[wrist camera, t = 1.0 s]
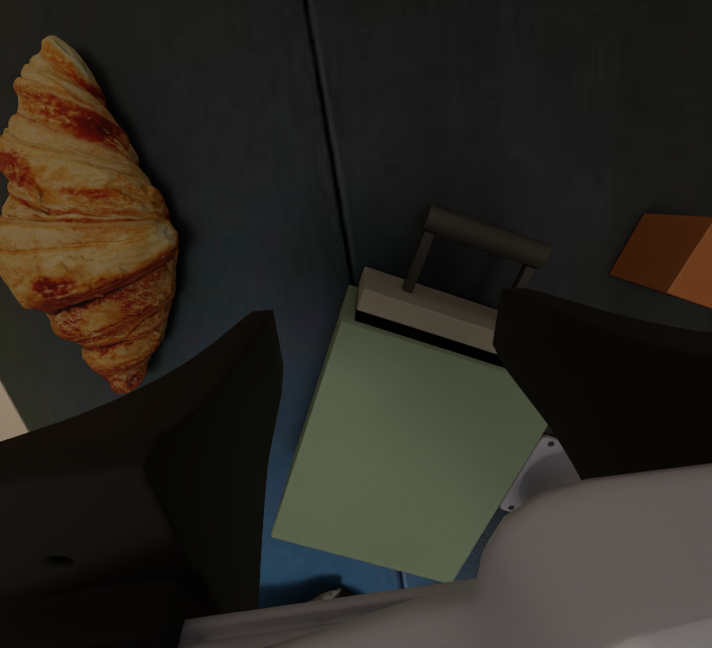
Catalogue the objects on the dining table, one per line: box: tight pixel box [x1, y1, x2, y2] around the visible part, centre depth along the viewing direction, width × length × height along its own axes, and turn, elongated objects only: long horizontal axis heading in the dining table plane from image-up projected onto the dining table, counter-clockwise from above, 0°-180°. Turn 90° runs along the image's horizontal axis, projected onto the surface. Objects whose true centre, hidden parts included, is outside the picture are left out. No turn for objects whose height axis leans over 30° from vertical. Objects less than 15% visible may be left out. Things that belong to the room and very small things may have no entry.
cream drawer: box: [356, 204, 552, 368], centre depth 23 cm, size 19×11×6 cm, turn 162°
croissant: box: [0, 36, 179, 394], centre depth 22 cm, size 21×10×8 cm, turn 1°
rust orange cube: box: [609, 214, 712, 309], centre depth 21 cm, size 4×4×5 cm
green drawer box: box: [271, 285, 548, 583], centre depth 24 cm, size 15×12×8 cm
